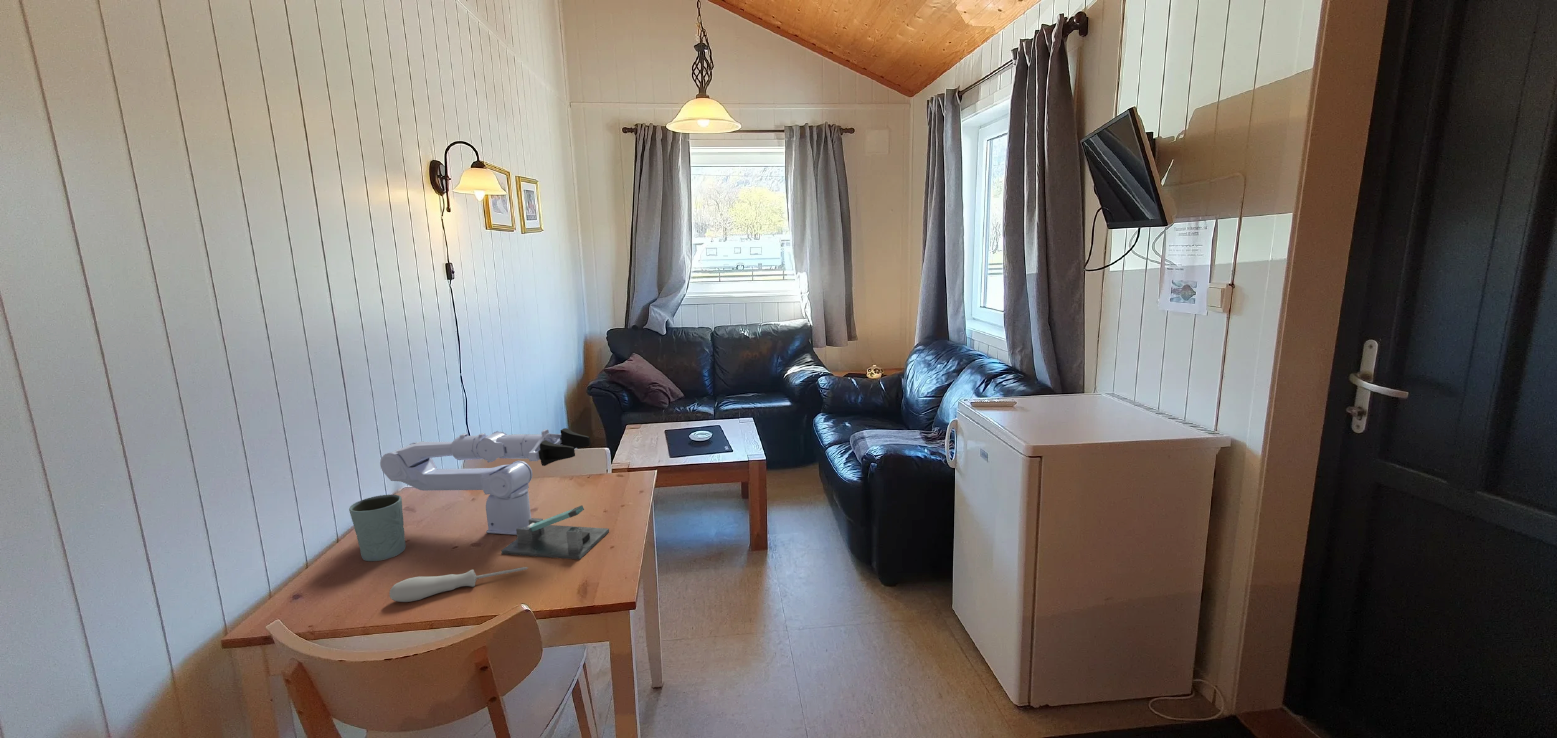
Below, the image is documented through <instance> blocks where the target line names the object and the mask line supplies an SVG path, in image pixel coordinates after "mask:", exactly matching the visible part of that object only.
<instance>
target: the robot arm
mask: <svg viewBox="0 0 1557 738" xmlns="http://www.w3.org/2000/svg"><path fill="white" fill-rule="evenodd" d="M591 445H592V444H591V436H588V435H584V434H579V433H577V432H574V431H573V430H571V429H570V428H568V427H567V428H565V427H564V428H562V429H560V433H550V431H549V429H543V430H542V431H541V434H540V433H539V434H538V433H537V434H530V433H529V434H526V433H525V434H524V433H523V434H519V433H518V434H508V433H506V432H504V431H498V430H497V431H494V432H492V433H491V434H489V435H487V434H486V433H484V432H483V433H479V434H478V435H469V433H462V434H460V435H459V436H457V437H456V438H454V439H453V441H424V440H423V441H419V442H417V441H415V442H412V443H410V444H409V445H406V446H403V447H400V448H397V449H396V450H394V451H392V452H391V451H389V452H387V453H385V454H383V455H382V457H381V458H380V462H379V464H380V469H381V471H382V472H383V473H384V475H385V476H386V477H387V478H388V479H389V481H391V482H401V483H403V484H406V485H408V486H411V487H412V488H414V489H416V490H419V491H426V492H428V491H431V492H432V491H483V493H484V495H488V497H487V498H486V502H485V512H486V520H487V521H486V522H487V530H486V533H487V534H495V535H496V534H498V535H500V534H501V535H511V536H513V535H514V536H517V532H516V529H517V528H518V527H527V526H529V519H531V518H532V514H531V504H530V493H529V488H530V485H529V483H530V482H531V481H532V479H533V476H534V475H533V470H532V468H531V466H530V465H529V464H528V463H527V462H526V461H522V460H524V459H526V460H528V459H529V462H538V461H540V464H541V466H542V467H546V466H548V465H550V464H551V463H555V462H558V461H562V460H566V459H571V458H574V457H576V452H575V451H576V450H575V449H579V448H587V447H590V446H591ZM450 456H451V457H453V458H454V459H455V460H457V461H471V460H472V461H473V460H484V461H487V463H492V462H495V461H496V460H497V459H509V460H510V459H511V460H514V459H515V460H516V459H519V460H516V461H513V462H512V463H509V464H502V465H498V466H493V467H485V468H484V467H481V468H480V467H478V468H471V467H470V468H437V466H436V463H435V462H434V459H433V458H443V457H450ZM521 459H522V460H521Z"/></svg>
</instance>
